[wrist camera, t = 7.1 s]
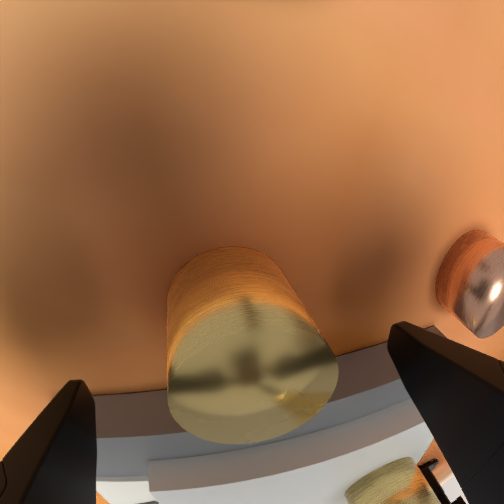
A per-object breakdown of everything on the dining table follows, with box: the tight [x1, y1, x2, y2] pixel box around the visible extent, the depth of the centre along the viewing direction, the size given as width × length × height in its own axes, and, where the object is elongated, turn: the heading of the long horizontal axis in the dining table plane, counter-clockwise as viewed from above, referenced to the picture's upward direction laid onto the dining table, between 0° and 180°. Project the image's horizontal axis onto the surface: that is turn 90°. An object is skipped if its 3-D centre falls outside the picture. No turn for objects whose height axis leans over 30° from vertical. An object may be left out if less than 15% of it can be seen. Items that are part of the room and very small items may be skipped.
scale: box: [92, 326, 446, 504], centre depth 15 cm, size 15×19×4 cm
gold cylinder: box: [167, 247, 339, 444], centre depth 10 cm, size 4×4×4 cm
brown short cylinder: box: [436, 230, 504, 338], centre depth 13 cm, size 4×4×3 cm
